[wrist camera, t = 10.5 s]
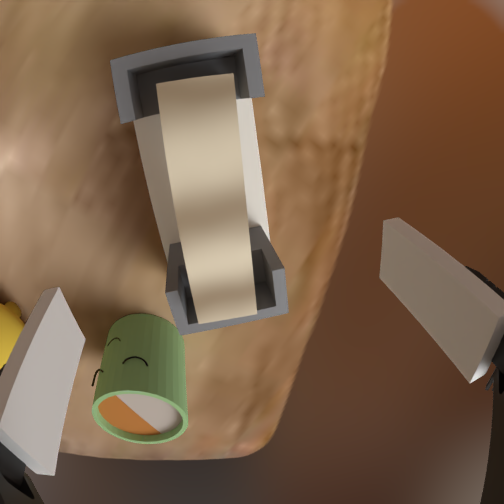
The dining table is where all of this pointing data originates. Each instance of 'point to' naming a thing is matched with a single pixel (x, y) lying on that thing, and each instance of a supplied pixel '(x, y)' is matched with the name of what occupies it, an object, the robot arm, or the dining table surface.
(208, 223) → the rail
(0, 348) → the teapot
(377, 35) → the dining table surface
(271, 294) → the bracket board
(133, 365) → the mug
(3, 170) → the dining table surface
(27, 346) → the robot arm
